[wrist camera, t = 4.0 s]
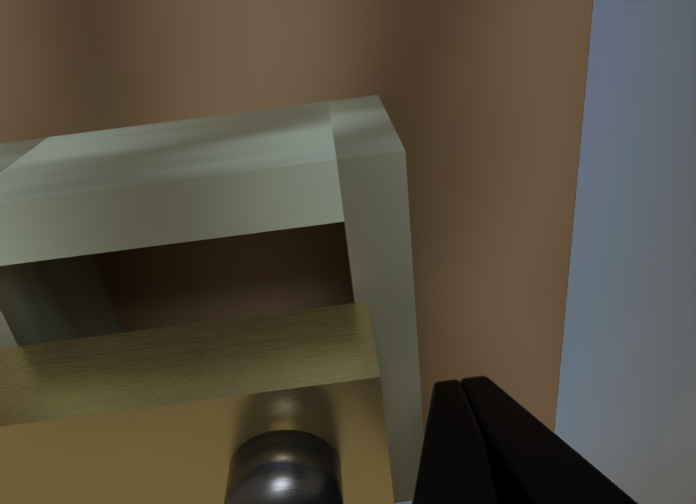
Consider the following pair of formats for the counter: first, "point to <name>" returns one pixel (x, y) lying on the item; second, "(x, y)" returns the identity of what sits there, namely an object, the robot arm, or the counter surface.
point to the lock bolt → (199, 414)
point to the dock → (300, 178)
